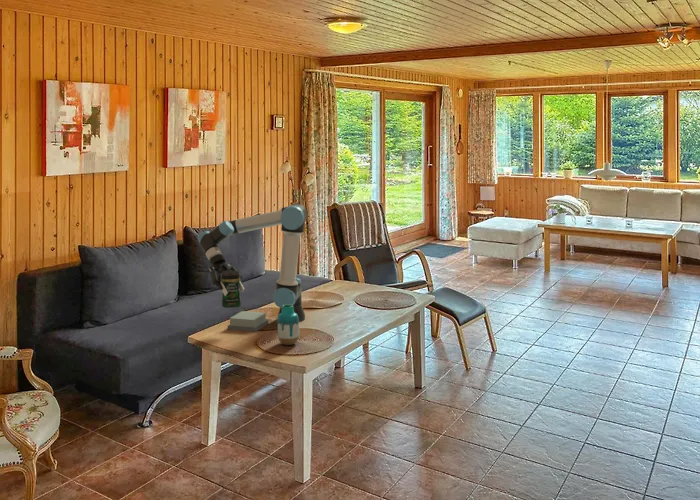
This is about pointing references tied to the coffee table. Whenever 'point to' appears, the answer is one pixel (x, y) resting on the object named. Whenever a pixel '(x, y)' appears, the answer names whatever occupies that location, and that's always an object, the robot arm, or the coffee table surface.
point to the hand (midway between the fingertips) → (234, 292)
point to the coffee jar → (231, 289)
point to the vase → (288, 325)
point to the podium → (248, 321)
